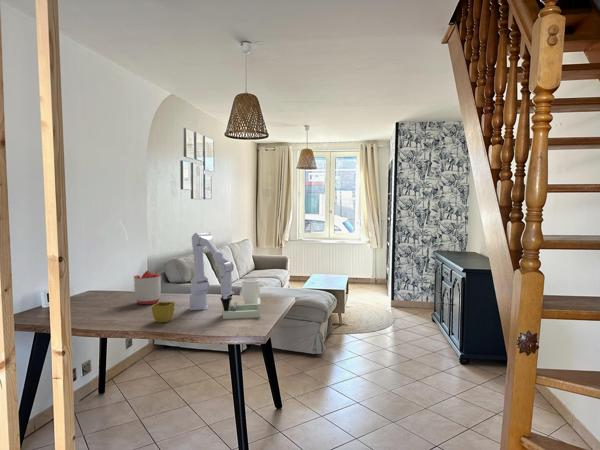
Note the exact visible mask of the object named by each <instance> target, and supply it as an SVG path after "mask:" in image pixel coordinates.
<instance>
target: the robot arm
mask: <svg viewBox="0 0 600 450" xmlns="http://www.w3.org/2000/svg"><path fill="white" fill-rule="evenodd" d="M191 246H192V252H193V255H192V256H193V269H194V277H193V278H192V279H191V280H190V287H189V289H190V292H191V293H190V294H189V311H201V310H204V311H206V310H208V308H209V305H208V302H207V299H208V298H207V296H208V295H207V293H208V291H209V290H210V287H211V286H210V282H209V278H208V277H206V275H205V266H204V265H205V264H204V253H203V252H204V251H203V249H204V248H205V247H206V248H207V249H208V250H209V251H210V253H211V254H212V259H213V261H214V262H215V263H216V265H217V271H218V272H219V277H220V295H221V297H223V298H221V297H220V301H221V305H222V304H223V308H224V311H228V310H229V304H230V300H231V298H228V296H232V297H233V295H234V294H235V292H234V291H232V290H233V289H232V288H233V287H232V285H233V284H232V272H233V271H234V263H233V262H232V261H231V260H229V259H227V257H226V256H225V254H224V252H222V251H220V250H219V249H218V248H217V246H216V244H215V242H214V237H213V235H212V234H211V232H208V231H207V232H195V233H193V234H192V236H191Z"/></svg>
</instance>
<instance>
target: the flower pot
mask: <svg viewBox="0 0 600 450" xmlns="http://www.w3.org/2000/svg"><path fill="white" fill-rule="evenodd" d="M150 308H151V312H152V316H153V318H154V320H155V321H156V323H167V322H169V321H171V320H172V318H173V316H174V313H175V302H174V301H171V302H170V301H158V302H157V303H153V304H151V307H150Z"/></svg>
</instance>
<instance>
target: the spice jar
mask: <svg viewBox="0 0 600 450" xmlns="http://www.w3.org/2000/svg"><path fill="white" fill-rule="evenodd" d="M220 298H223V297H222V296H221V297H220ZM228 298H231V300H230V304H229V310H228V311H232V305H233V295H232V296H228ZM223 312H224V308H223V304H222V303H221V315H222V316H223Z"/></svg>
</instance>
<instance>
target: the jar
mask: <svg viewBox="0 0 600 450" xmlns="http://www.w3.org/2000/svg"><path fill="white" fill-rule="evenodd" d="M260 281H261V279H259V278H244V279H242V280H241V282H242V283H241V294H242V299H243V302H244V303H243V305H246V304H257V301H258V298H260V293H261V287H260V286H261V285H260Z"/></svg>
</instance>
